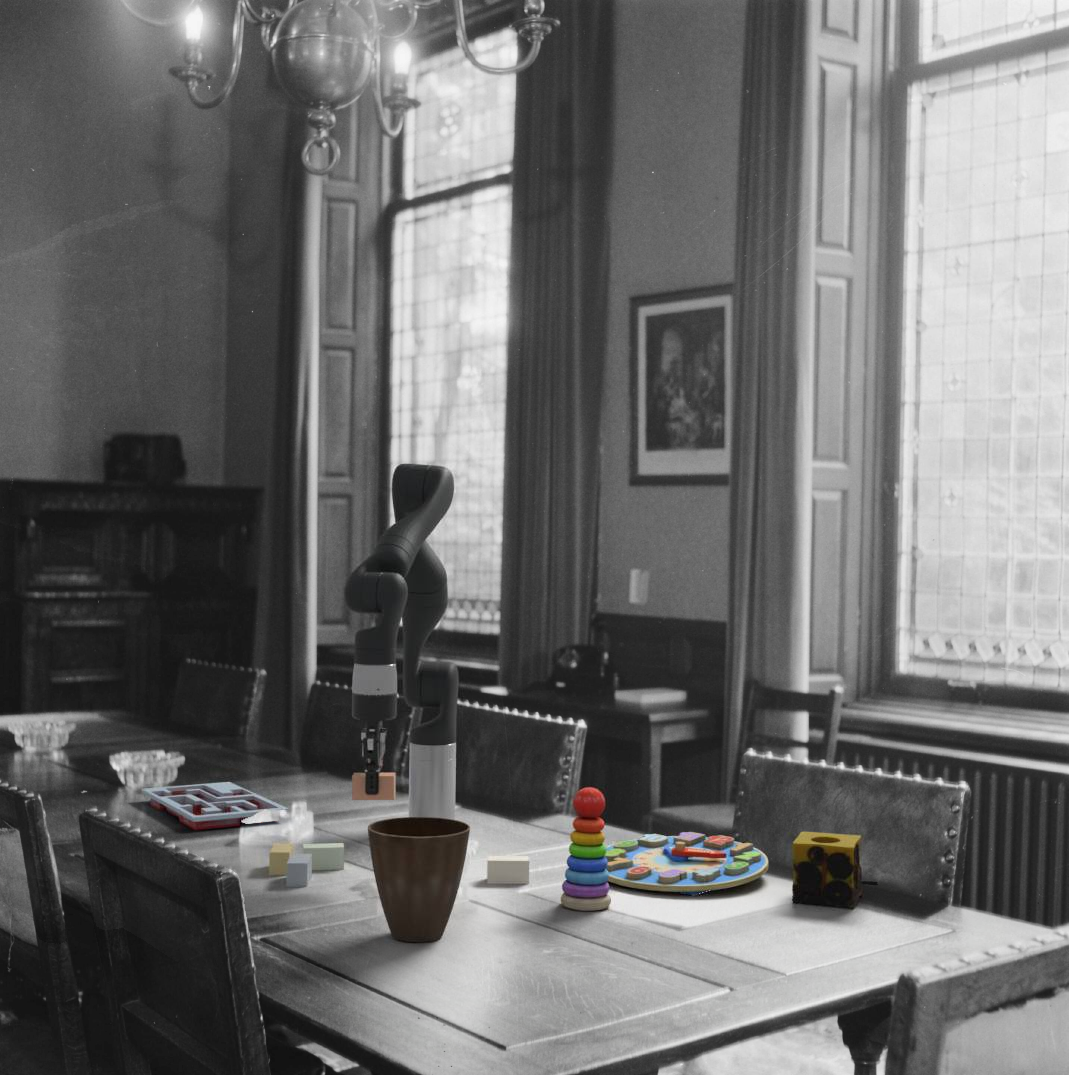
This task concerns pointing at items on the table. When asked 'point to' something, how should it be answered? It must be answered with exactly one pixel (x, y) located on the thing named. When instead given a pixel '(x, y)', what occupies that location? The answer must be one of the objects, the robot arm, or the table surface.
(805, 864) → the yellow gear box toy
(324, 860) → the brick sage
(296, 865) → the brick slate
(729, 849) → the shape sorting clock
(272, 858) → the brick ochre
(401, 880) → the plant pot
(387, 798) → the brick terracotta
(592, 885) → the stacking toy
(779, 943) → the table surface
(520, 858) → the brick cream
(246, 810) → the maze game
